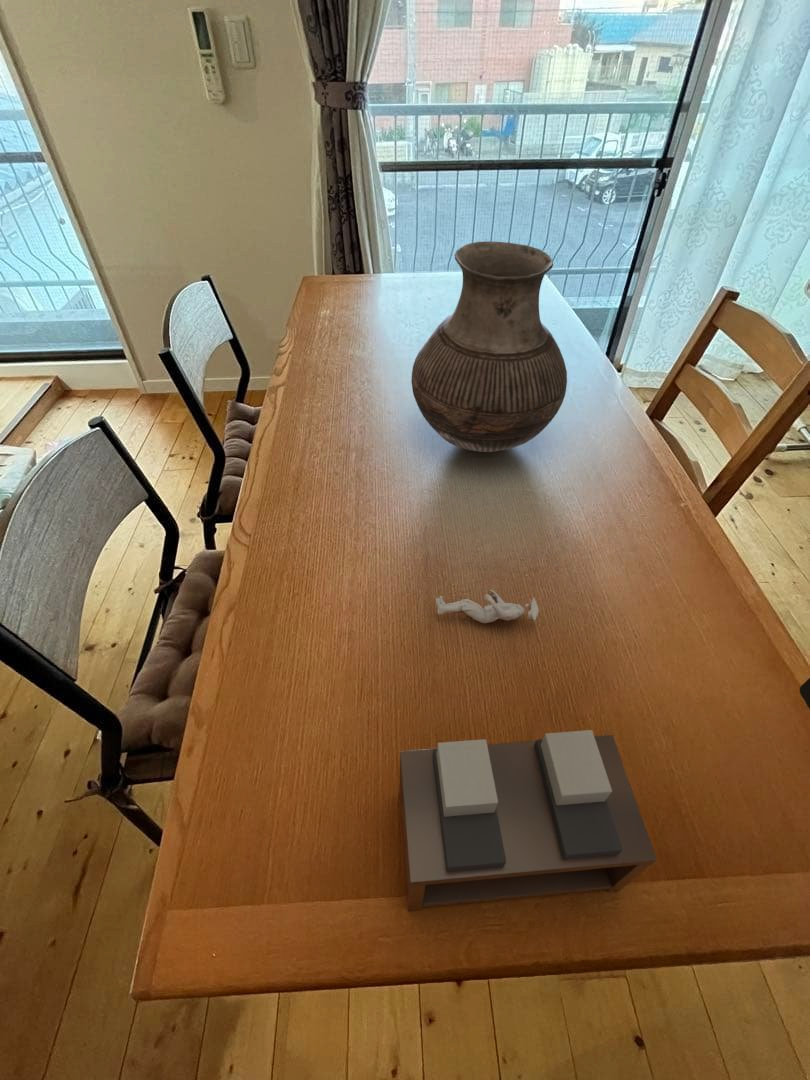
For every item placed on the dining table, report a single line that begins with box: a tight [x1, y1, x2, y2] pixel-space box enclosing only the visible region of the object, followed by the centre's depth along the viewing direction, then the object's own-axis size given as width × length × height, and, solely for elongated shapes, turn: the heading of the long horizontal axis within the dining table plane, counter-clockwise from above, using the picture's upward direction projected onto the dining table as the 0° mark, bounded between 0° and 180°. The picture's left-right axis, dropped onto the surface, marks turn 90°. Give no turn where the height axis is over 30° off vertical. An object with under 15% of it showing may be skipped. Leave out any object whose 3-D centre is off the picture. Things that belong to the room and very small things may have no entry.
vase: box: [411, 240, 568, 453], centre depth 86 cm, size 25×25×30 cm
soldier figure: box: [435, 589, 540, 624], centre depth 69 cm, size 8×5×12 cm
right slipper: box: [534, 729, 622, 859], centre depth 44 cm, size 9×4×3 cm, turn 5°
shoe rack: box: [398, 734, 658, 912], centre depth 49 cm, size 10×19×10 cm, turn 95°
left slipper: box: [432, 738, 506, 872], centre depth 44 cm, size 9×4×3 cm, turn 5°
